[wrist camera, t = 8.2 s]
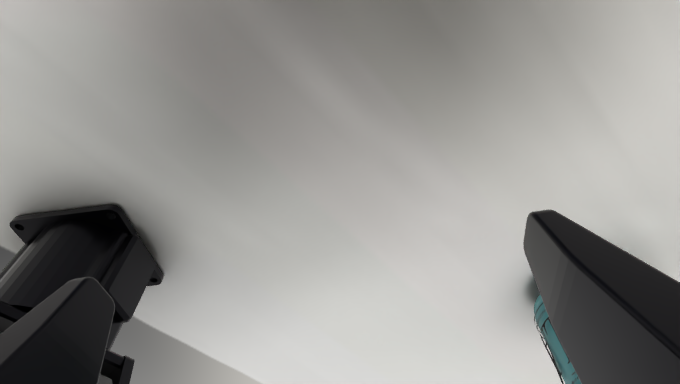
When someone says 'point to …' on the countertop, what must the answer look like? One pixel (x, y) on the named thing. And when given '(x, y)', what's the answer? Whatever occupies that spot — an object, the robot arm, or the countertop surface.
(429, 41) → the countertop surface
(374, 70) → the countertop surface
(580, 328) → the robot arm
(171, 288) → the countertop surface
